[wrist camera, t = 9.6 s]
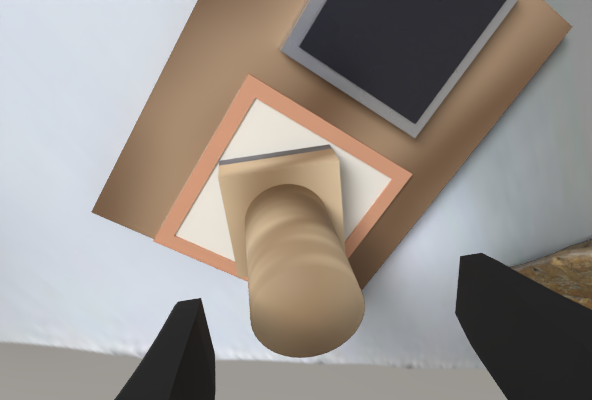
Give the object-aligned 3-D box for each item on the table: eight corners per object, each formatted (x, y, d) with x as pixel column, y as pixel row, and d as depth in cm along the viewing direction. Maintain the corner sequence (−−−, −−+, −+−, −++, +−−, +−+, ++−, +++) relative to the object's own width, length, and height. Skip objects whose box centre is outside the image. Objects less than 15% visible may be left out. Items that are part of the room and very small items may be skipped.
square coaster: (411, 172, 21) (412, 174, 21) (309, 305, 24) (310, 308, 24) (248, 73, 18) (248, 74, 18) (153, 239, 21) (153, 241, 21)
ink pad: (510, -11, 18) (528, -11, 17) (406, 131, 20) (416, 139, 19) (380, -128, 16) (391, -137, 15) (278, 47, 18) (281, 51, 17)
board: (557, 24, 20) (572, 26, 19) (335, 306, 25) (338, 318, 25) (302, -205, 15) (306, -217, 14) (97, 202, 21) (91, 212, 20)
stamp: (329, 144, 20) (385, 233, 13) (336, 237, 22) (387, 357, 15) (219, 160, 19) (212, 261, 12) (237, 254, 22) (241, 385, 15)
